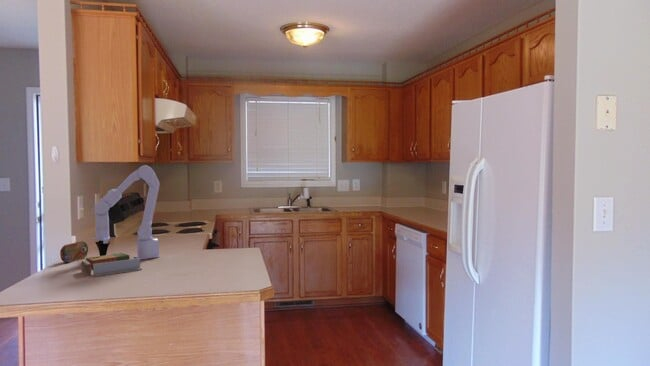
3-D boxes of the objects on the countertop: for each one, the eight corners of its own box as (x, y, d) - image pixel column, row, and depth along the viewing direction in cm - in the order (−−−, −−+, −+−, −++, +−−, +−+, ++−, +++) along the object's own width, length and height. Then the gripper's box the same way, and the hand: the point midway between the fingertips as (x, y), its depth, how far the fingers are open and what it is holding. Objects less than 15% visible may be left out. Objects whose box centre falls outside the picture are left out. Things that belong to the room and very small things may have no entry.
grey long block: (139, 268, 195) (139, 258, 195) (141, 269, 192) (141, 259, 192) (93, 275, 184) (93, 264, 184) (95, 276, 181) (94, 265, 181)
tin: (65, 264, 203) (64, 245, 203) (59, 264, 204) (58, 245, 203) (88, 257, 218) (88, 239, 217) (83, 257, 218) (82, 239, 218)
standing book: (86, 271, 190) (86, 259, 190) (91, 275, 183) (90, 263, 183) (82, 271, 189) (81, 260, 189) (86, 276, 182) (85, 264, 182)
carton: (85, 267, 199) (85, 257, 198) (121, 261, 211) (121, 252, 211) (93, 270, 193) (92, 260, 193) (130, 263, 205) (129, 254, 205)
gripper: (89, 226, 213) (90, 255, 213) (96, 230, 201) (96, 260, 202) (105, 225, 217) (106, 253, 218) (113, 228, 206) (113, 258, 206)
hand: (103, 256), depth 210 cm, fingers closed
